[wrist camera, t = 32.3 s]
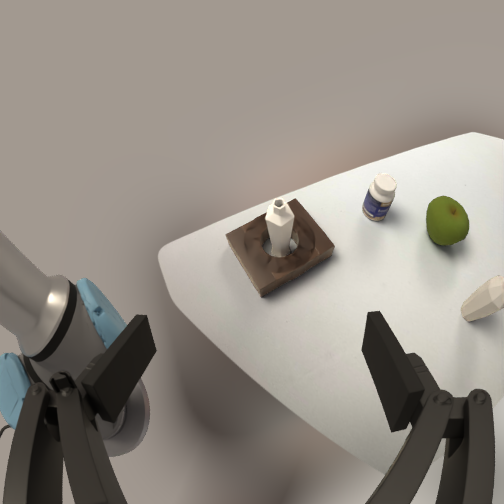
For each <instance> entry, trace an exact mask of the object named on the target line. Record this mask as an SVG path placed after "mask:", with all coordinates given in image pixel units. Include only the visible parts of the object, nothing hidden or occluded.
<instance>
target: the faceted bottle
mask: <svg viewBox="0 0 504 504" xmlns="http://www.w3.org/2000/svg"><path fill="white" fill-rule="evenodd" d="M502 308H504V277H501V276H496V277H493V278H491V279H490V280H488V281H487V282H486V283H484V284H483V285H482V286H480V287H479V288H478V289H477V290H476V291H475V292H474V293H473V294H472V295H471V296H470V297H469V298H468V299H467V300H466V301H464V302H463V305H462V307H461V312H462V316H463V318H464V319H465V320H466V321H468V322H470V321H473V320H476V319H480V318H483V317H486V316H489V315H491V314H493V313H495V312H497V311H499V310H500V309H502Z"/></svg>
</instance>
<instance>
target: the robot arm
mask: <svg viewBox="0 0 504 504" xmlns="http://www.w3.org/2000/svg"><path fill="white" fill-rule="evenodd" d="M0 324H1V325H2V326H3V327H5V328H6V329H7V330H9V331H10V332H11V333H13V334H14V335H16V337H17V340H18V343H19V346H20V350H21V352H22V354H21V355H19V356H17V355H16V354H14V353H4V354H2V355H1V356H0V411H1V413H2V415H3V417H4V419H5V420H6V422H7V423H8V424H9V425H7V426H4V427H3V428H2V429H1V431H0V437H1V435H2V433H3V431H4V430H5V429H7V428H9V427H12V428H13V429H15V433H14V437H13V441H12V445H11V450H10V455H9V460H8V466H7V472H6V479H5V487H4V496H3V504H62V477H63V476H62V475H63V458H64V461H65V466H66V471H67V475H68V479H69V483H70V487H71V491H72V494H73V498H74V501H75V504H127V501H126V499H125V497H124V495H123V493H122V490H121V488H120V486H119V483H118V481H117V478H116V476H115V473H114V471H113V468H112V465H111V463H110V460H109V457H108V454H107V451H106V448H105V445H104V442H103V439H108V438H111V437H114V436H115V435H117V434H118V433H119V432H120V431H121V429H122V428H123V426H124V424H125V421H126V416H127V404H126V402H127V400H128V398H129V397H130V395H131V393H132V392H133V390H134V388H135V386H136V385H137V383H138V381H139V380H140V378H141V376H142V374H143V373H144V371H145V369H146V368H147V366H148V364H149V363H150V361H151V359H152V357H153V356H154V354H155V353H156V347H155V343H154V340H153V336H152V333H151V329H150V325H149V322H148V318H147V315H136V316H135V317H134V318H133V319H132V320H131V322H130V323H129V324H128V325H126V323H125V322H124V320H123V319H122V318H121V316H120V315H119V313H118V312H117V311H116V309H115V308H114V307H113V305H112V304H111V303H110V302H109V300H108V299H107V298H106V297H105V296H104V295H103V293H102V292H101V291H100V290H99V289H98V288H97V286H96V285H94V283H93V282H91V281H90V280H88V279H87V278H82V279H81V280H78V281H77V284H76V285H74V284H72V283H71V282H70V281H69V280H68V279H67V278H66V277H64V276H62V275H56V276H50V277H47V276H46V275H45V274H44V273H43V272H41V271H40V270H39V269H38V268H37V267H36V266H35V265H34V264H33V263H32V262H31V261H30V260H29V259H27V257H25V256H24V255H23V254H22V253H21V252H20V251H19V250H18V249H17V247H16V246H15V245H14V244H13V243H11V241H10V240H9V239H8V238H7V237H6V236H5V235H4V234H3V233H2V232H1V231H0ZM362 352H363V355H364V357H365V360H366V363H367V365H368V368H369V370H370V373H371V376H372V378H373V381H374V384H375V386H376V389H377V392H378V395H379V397H380V400H381V403H382V406H383V409H384V412H385V415H386V418H387V421H388V424H389V427H390V430H391V432H395V431H400V430H404V429H406V428H407V426H408V424H409V422H410V423H411V425H412V429H411V431H410V433H409V435H408V436H407V438H406V441H405V443H404V445H403V446H402V448H401V450H400V452H399V453H398V455H397V457H396V459H395V460H394V462H393V464H392V465H391V467H390V468H389V470H388V472H387V473H386V475H385V477H384V478H383V479H382V481H381V483H380V484H379V485H378V487H377V488H376V490H375V491H374V492H373V494H372V495H371V497H370V498H369V499H368V501H367V502H366V503H365V504H410V503H411V501H412V500H413V498H414V496H415V494H416V493H417V491H418V489H419V487H420V485H421V483H422V481H423V479H424V477H425V475H426V473H427V471H428V469H429V467H430V465H431V463H432V461H433V458H434V456H435V454H436V451H437V449H438V447H439V444H440V442H441V439H442V438H446V446H445V454H444V463H443V469H442V475H441V481H440V486H439V491H438V495H437V500H436V504H492V497H493V488H494V472H495V437H494V421H493V410H492V401H491V397H490V395H489V394H488V392H486V391H485V390H482V389H474V390H473V391H471V392H470V394H469V395H468V397H461V398H455V397H453V396H452V395H451V394H450V393H449V392H447V391H445V390H440V388H439V387H438V385H437V383H436V381H435V380H434V378H433V376H432V375H431V373H430V371H429V370H428V368H427V366H425V363H424V361H423V360H422V358H421V357H419V356H418V355H417V354H415V353H410V354H405V352H404V350H403V348H402V347H401V345H400V343H399V342H398V340H397V338H396V337H395V335H394V333H393V332H392V330H391V328H390V327H389V325H388V323H387V322H386V320H385V319H384V317H383V315H382V314H381V312H380V311H374V312H368V314H367V320H366V327H365V333H364V339H363V345H362Z"/></svg>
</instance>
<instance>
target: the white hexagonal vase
mask: <svg viewBox="0 0 504 504" xmlns="http://www.w3.org/2000/svg"><path fill="white" fill-rule="evenodd" d="M265 219H266V223H267V227H268V232H269V236H270V240H271V244H272V251H271V254H272V255H274V256H276V257H285V256H287V255H288V254H289V253H290V252H291V251H290V248H289V244H290V238H291V233H292V227H293V221H294V214H293V213H292V211H291V209H290V207H289V205H288V204H287V203H286V202H285V201H284V199H283V198H277V199H274V200H273V203H272V204H271V205H269V208H268V211H267V214H266V217H265Z"/></svg>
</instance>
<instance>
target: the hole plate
mask: <svg viewBox="0 0 504 504" xmlns="http://www.w3.org/2000/svg"><path fill="white" fill-rule="evenodd" d="M287 204H288V205H289V207H290V209H291V211H292V213H293V214H294V221H293V227H292V233H291V238H292V239H293V240H294V241H295V243H296V244H297V248H296V249H295V251H294V252H293V253H291V254H290V255H288V256H285V257H274V256H271V255H269V254H267V253H266V252H265V251H264V250H263V248H262V247H263V243H264V242H265V241H266V240H267V239H268V238H270V236H269V232H268V227H267V223H266V219H265V217H266V214H267V212H266V213H265V214H263V215H261V216H259V217H257V218H255V219H254V220H252V221H251V222H249V223H247V224H245V225H243V226H241V227H239V228H237V229H235V230H233V231H231V232H230V233H228V234H226V237H227V240H228V243H229V245H230V247H231V249H232V250H233V252H234V254H235V255H236V257H237V259H238V260H239V262H240V264H241V265H242V267H243V269H244V270H245V272H246V273H247V275H248V277H249V278H250V280H251V282H252V283H253V285H254V287H255V288H256V290H257V291H258V293H259V295H260V296H261V297H262V296H264V295H266V294H268V293H269V292H271V291H273V290H275V289H276V288H278V287H280V286H281V285H283V284H285V283H287V282H288V281H290V280H293V279H295V278H297V277H298V276H300V275H302V274H303V273H305V271H307V270H309V269H310V268H312V267H314V266H315V265H317V264H319V263H320V262H322V261H324V260H325V259H327V258H328V257H330V256H332V253H333V250H334V247H335V246H334V244H333V243H332V242H331V240H330V239H329V238H328V237H327V235H326V234H325V233H324V232H323V231H322V229H321V228H320V227H319V226H318V224H317V223H316V222H315V221H314V220H313V218H312V217H311V216H310V215H309V213H308V212H307V211H306V210H305V209H304V208H303V206H302V205H301V204H300V203H299V202H298V200H297V199H296V198H295V199H293V200H291V201H289V202H287Z"/></svg>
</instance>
